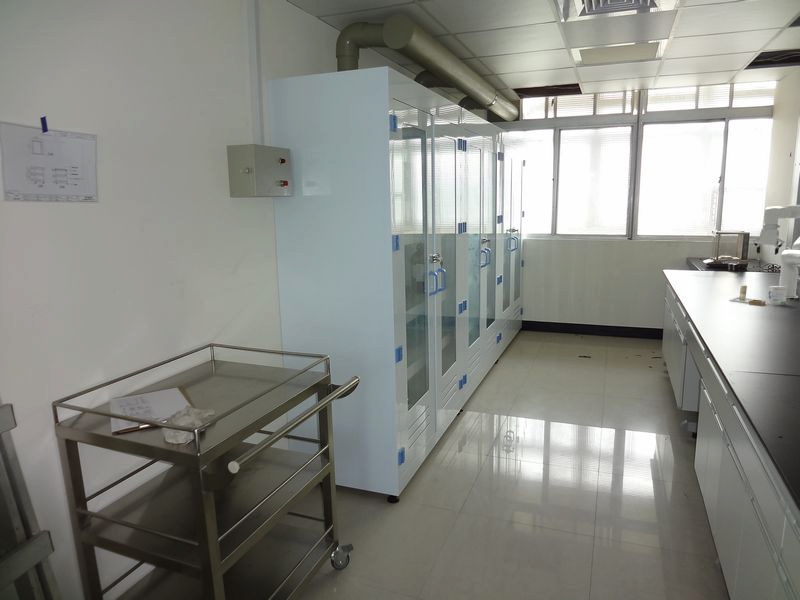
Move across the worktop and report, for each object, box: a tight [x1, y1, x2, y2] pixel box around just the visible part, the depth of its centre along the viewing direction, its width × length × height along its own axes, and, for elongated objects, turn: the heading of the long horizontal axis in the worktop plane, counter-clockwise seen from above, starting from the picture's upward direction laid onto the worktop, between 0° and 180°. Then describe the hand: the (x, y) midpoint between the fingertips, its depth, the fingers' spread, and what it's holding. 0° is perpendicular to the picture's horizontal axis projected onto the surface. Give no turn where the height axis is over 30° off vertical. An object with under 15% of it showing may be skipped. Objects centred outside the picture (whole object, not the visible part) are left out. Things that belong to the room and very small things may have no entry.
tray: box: [729, 296, 756, 304], centre depth 349 cm, size 12×11×2 cm
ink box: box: [766, 285, 787, 306], centre depth 337 cm, size 9×5×12 cm, turn 84°
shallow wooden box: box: [748, 298, 767, 307], centre depth 338 cm, size 7×7×3 cm
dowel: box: [739, 284, 748, 301], centre depth 348 cm, size 3×3×10 cm
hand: (767, 253), depth 348 cm, fingers open, 9 cm apart
